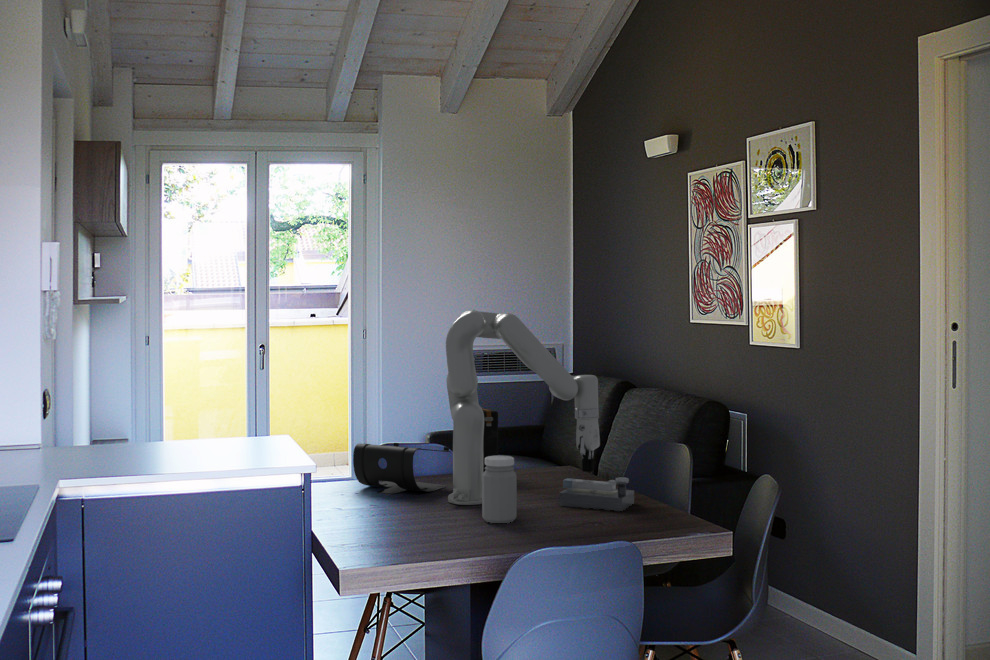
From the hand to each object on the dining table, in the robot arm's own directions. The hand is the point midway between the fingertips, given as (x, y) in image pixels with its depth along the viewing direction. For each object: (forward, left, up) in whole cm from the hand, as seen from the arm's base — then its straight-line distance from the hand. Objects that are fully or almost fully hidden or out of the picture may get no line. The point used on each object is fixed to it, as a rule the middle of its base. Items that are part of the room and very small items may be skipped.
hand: (588, 471), depth 287 cm
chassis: (-7, -5, -9) cm, 13 cm away
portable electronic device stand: (-10, +62, -9) cm, 64 cm away
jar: (-40, +13, -9) cm, 43 cm away
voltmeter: (+20, +48, -9) cm, 52 cm away
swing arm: (-7, -5, -4) cm, 10 cm away
